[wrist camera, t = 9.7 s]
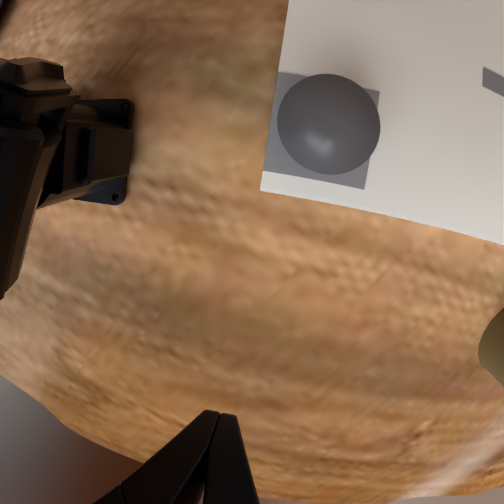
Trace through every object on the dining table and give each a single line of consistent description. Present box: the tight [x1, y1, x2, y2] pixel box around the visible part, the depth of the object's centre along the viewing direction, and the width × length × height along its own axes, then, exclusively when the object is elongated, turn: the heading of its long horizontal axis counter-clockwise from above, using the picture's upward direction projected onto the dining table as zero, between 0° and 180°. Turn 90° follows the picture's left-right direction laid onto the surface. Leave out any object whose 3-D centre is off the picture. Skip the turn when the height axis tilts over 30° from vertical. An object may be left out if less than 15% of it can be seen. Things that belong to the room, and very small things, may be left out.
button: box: [277, 74, 380, 175], centre depth 13 cm, size 4×4×3 cm
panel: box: [260, 0, 504, 245], centre depth 13 cm, size 19×18×3 cm
